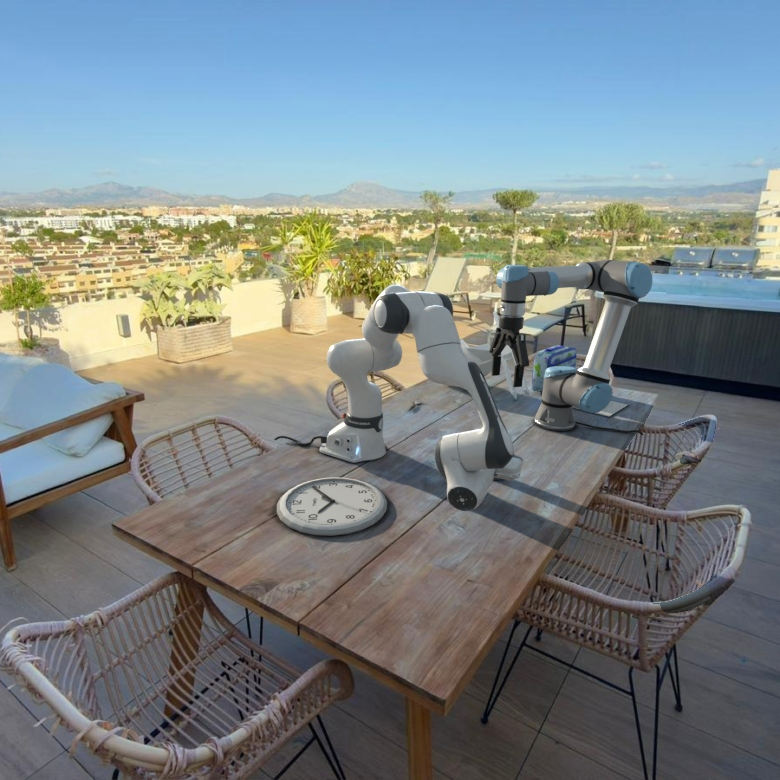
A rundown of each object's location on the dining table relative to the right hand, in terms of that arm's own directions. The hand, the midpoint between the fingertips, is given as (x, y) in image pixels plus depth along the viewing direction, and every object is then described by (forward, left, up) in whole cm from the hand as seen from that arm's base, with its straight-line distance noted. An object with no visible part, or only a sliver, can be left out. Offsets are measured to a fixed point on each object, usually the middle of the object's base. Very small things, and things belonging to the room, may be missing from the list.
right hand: (506, 380), depth 170 cm
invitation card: (-48, -57, -26) cm, 78 cm away
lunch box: (-31, -78, -26) cm, 87 cm away
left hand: (+6, +29, -13) cm, 32 cm away
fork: (+32, -44, -26) cm, 60 cm away
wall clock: (+48, +42, -26) cm, 69 cm away
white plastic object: (+4, -68, -26) cm, 73 cm away
